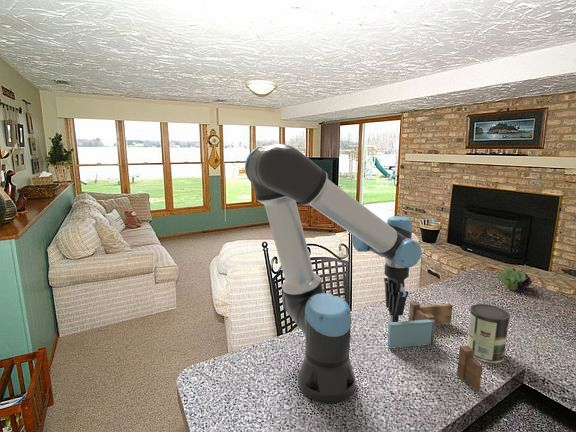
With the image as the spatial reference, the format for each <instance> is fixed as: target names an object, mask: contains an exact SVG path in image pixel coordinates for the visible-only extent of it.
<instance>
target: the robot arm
mask: <svg viewBox="0 0 576 432" xmlns="http://www.w3.org/2000/svg"><path fill="white" fill-rule="evenodd" d="M244 169H245V170H244V171H245V174H246V177H247V179H248V180H249V182H250V183H251V184H252V187H253V190H254V194H255V197H256V201H257V202H258V203H260V204H262V205H263V206H264V209H265V212H266V215H267V219H268V223H269V226H270V231H271V233H272V238H273V242H274V245H275V248H276V253H277V255H278V259H279V262H280V267H281V269H282V274H283V277H284V281H283V283H282V285H281V289H282V292H283V293H282V305H283V307H284V310H285V311H286V313H287V315H289V317H290V318H291V319H292V320H293V321H294V322H295V324H296V325H297V326H298V328H299V329H300V330H301V332H302V333H303V334H304V338H305V340H304V341H305V346H304V348H305V352H304V353H305V354H304V357H303V361H302V363H301V365H300V369H299V372H298V387H299V389H300V390H301V392H302V393H303V394H304V395H305V396H306V397H308V398H309V399H311V400H313V401H316V402H319V403H322V404H323V403H324V404H336V403H341V402H343V401H346V400H347V399H349V398H350V397H351V396H352V395H353V393H354V392H355V388H356V377H355V372H354V369H353V366H352V363H351V359H350V350H351V346H350V345H351V326H352V316H351V314H352V312H351V307H350V306H349V304H348V302H347V301H346V300H345V299H343V298H342V297H340V296H338V295H334V294H332V293H325V292H324V288H323V287H324V286H323V283H322V279H321V277H320V275H318V274H317V273H315V272H314V270H313V269H314V268H313V265H312V261H311V257H310V252H309V249H308V248H309V247H308V244H307V240H306V236H305V232H304V227H303V224H302V220H301V217H300V213H299V209H298V204H300V205H301V206H310V207H312V208H313V209H315V210H316V211H318V212H319V213H320V214H321V215H323V216H325V217H327V219H329V220H330V221H332V222H333V223H335V224H336V225H338V226H340V227H341V228H342V229H344V230H346V231H347V232H349V233H350V234H351V243H352V247H353V248H354V249H355V251H357V252H360V253H361V252H365V253H367V252H372V253H373V254H376V255H378V256H380V257H382V258H384V275H385V277H384V278H383V282H384V289H385V291H384V292H385V307H386V308H387V311H388V323H390V322H399V317H400V316H403V315H404V310H405V306H406V302H407V298H408V296H409V291H406V290H405V286H406V285H405V280H406V279H407V278H408V277H409V273H410V268H413V267H414V266H416V265H417V264H418V263H419V261H420V259H421V257H422V252H423V251H422V247H421V245H420V244H419V242H418V241H415V240H413V239H412V237H413V235H412V234H413V221H412V219H411V218H409V217H408V216H407V217H406V216H401V215H393V216H389V217H388V218H387V222H386V221H385V220H383V219H382V218H380V217H379V216H378V215H377V214H375V213H374V212H373V211H371V210H370V209H369V208H367V207H366V206H364V205H363V204H362V203H360V202H359V201H358V200H357V199H355V198H354V197H352V196H351V195H350V194H349V193H347V192H346V191H344V190H343V189H342V188H340V187H339V186H338V185H336V184H335V183H334V182H333V181H331V180H330V179H329V178H328V177H329V176H328V173H327V171H325V170H324V169H323V168H321V167H320V166H319V165H317V164H316V163H315V162H314V161H313V160H311V159H310V158H309V157H308V156H306V155H305V154H304V153H302V152H301V151H300V150H298V149H297V148H295V147H293V146H291V145H289V144H287V143H286V144H285V143H276V144H275V143H274V144H273V143H266V144H261V145H259V146H257V147H255V148H254V149H252V150H251V151H250V153H249V154H248V155H247V157H246V160H245V163H244ZM297 203H298V204H297ZM388 323H387V331H389V325H388Z"/></svg>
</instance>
